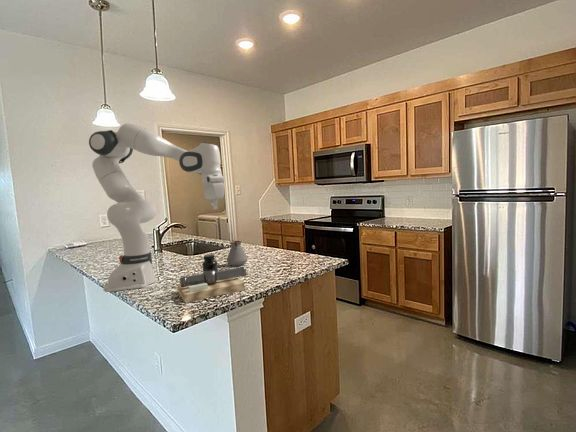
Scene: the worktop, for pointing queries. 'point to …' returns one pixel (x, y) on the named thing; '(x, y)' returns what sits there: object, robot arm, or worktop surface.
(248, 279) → the worktop surface
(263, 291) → the worktop surface
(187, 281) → the dark grey bar
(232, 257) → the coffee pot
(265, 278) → the worktop surface
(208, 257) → the supplement bottle
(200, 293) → the levelling stand
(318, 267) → the worktop surface
